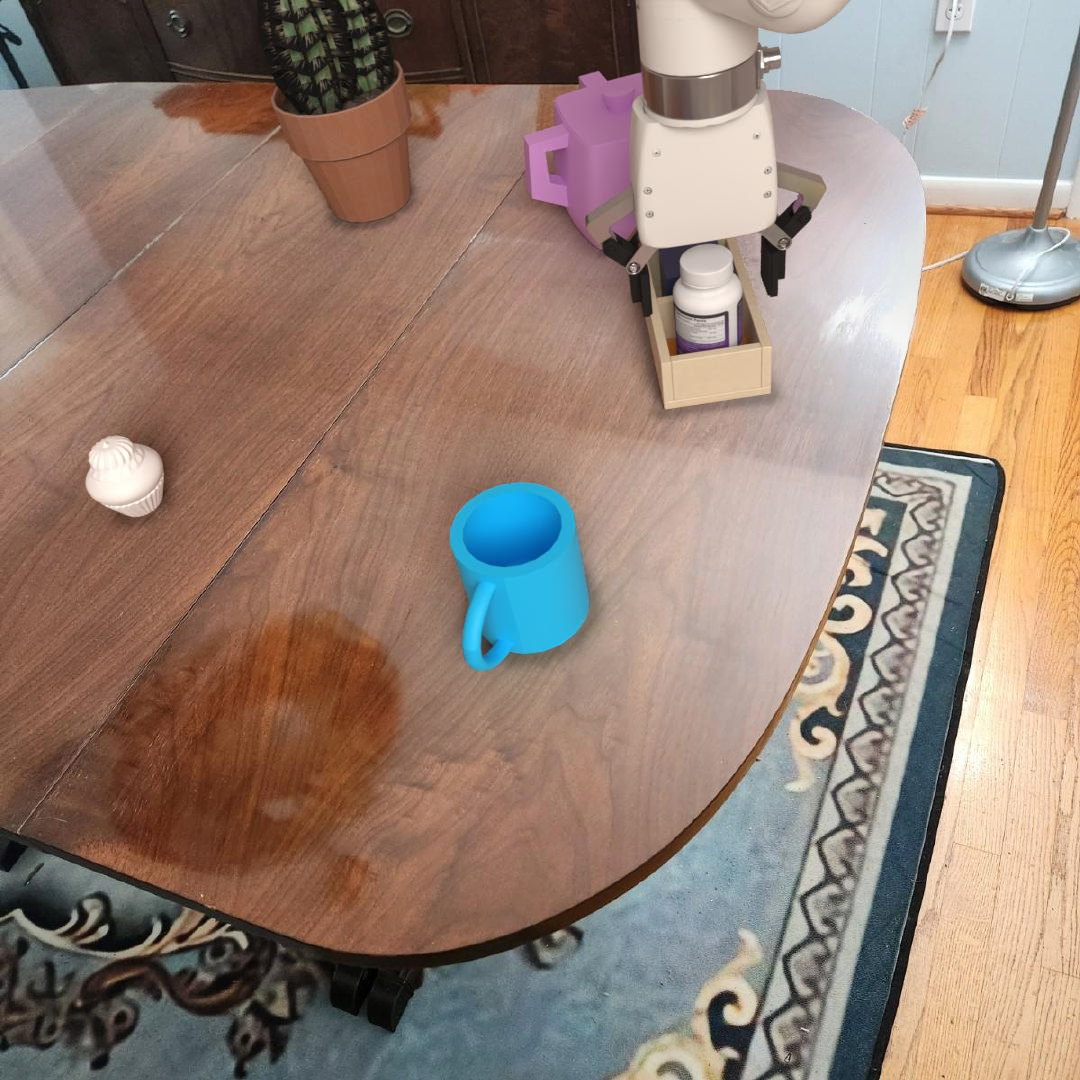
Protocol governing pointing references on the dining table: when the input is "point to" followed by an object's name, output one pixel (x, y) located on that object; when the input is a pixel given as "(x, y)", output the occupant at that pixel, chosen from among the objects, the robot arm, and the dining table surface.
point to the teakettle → (586, 149)
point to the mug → (518, 572)
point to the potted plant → (340, 101)
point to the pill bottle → (707, 301)
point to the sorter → (711, 369)
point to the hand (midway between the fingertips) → (707, 296)
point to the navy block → (673, 265)
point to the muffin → (125, 476)
